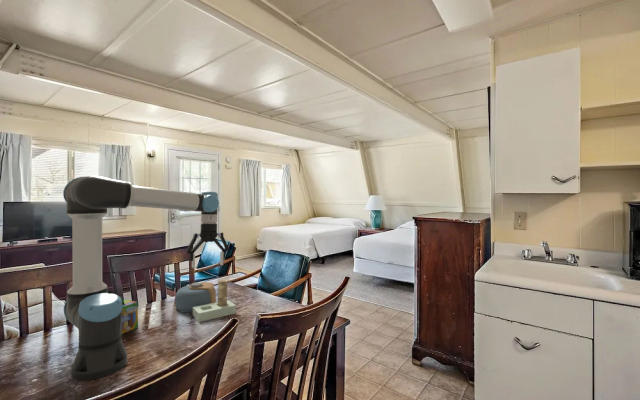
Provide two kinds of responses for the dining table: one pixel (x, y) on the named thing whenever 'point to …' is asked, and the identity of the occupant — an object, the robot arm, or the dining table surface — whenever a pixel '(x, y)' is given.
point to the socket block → (213, 311)
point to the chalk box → (129, 315)
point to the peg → (222, 293)
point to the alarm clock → (195, 296)
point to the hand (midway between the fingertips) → (207, 266)
